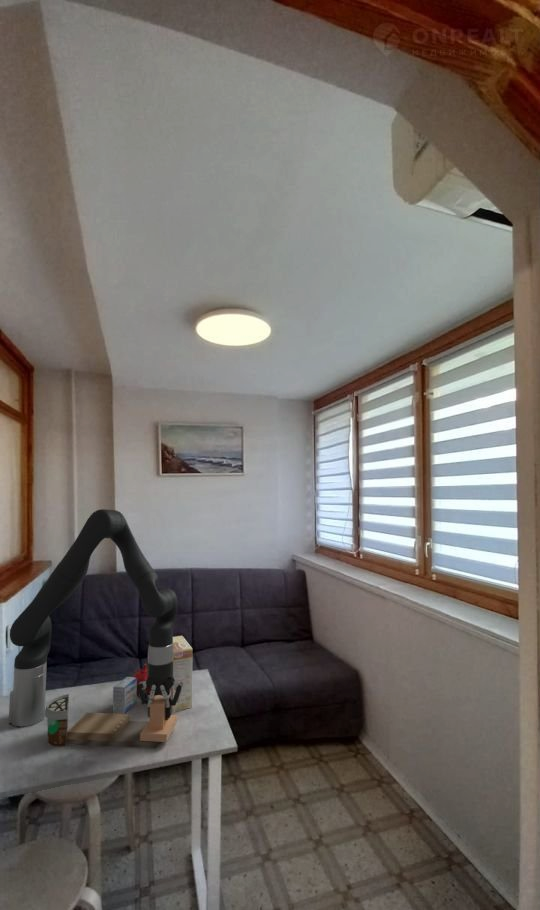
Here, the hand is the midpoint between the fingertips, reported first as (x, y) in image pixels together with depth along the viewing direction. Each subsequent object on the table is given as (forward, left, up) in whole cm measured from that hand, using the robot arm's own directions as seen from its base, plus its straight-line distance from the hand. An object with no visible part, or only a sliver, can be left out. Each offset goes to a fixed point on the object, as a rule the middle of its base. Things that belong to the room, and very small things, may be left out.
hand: (159, 718), depth 127 cm
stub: (0, 0, -4) cm, 4 cm away
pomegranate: (-15, +29, -6) cm, 33 cm away
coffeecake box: (-1, +22, -6) cm, 23 cm away
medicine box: (-17, +16, -6) cm, 24 cm away
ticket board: (-12, 0, -5) cm, 13 cm away
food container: (-30, -3, -5) cm, 31 cm away
